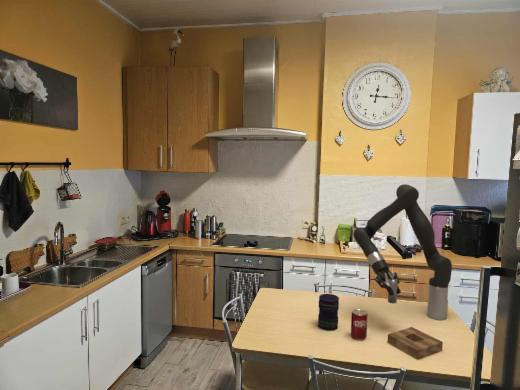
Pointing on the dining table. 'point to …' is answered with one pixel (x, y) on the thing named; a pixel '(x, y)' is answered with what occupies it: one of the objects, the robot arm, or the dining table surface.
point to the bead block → (415, 342)
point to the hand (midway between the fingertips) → (395, 293)
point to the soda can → (359, 324)
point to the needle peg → (393, 286)
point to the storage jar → (328, 312)
